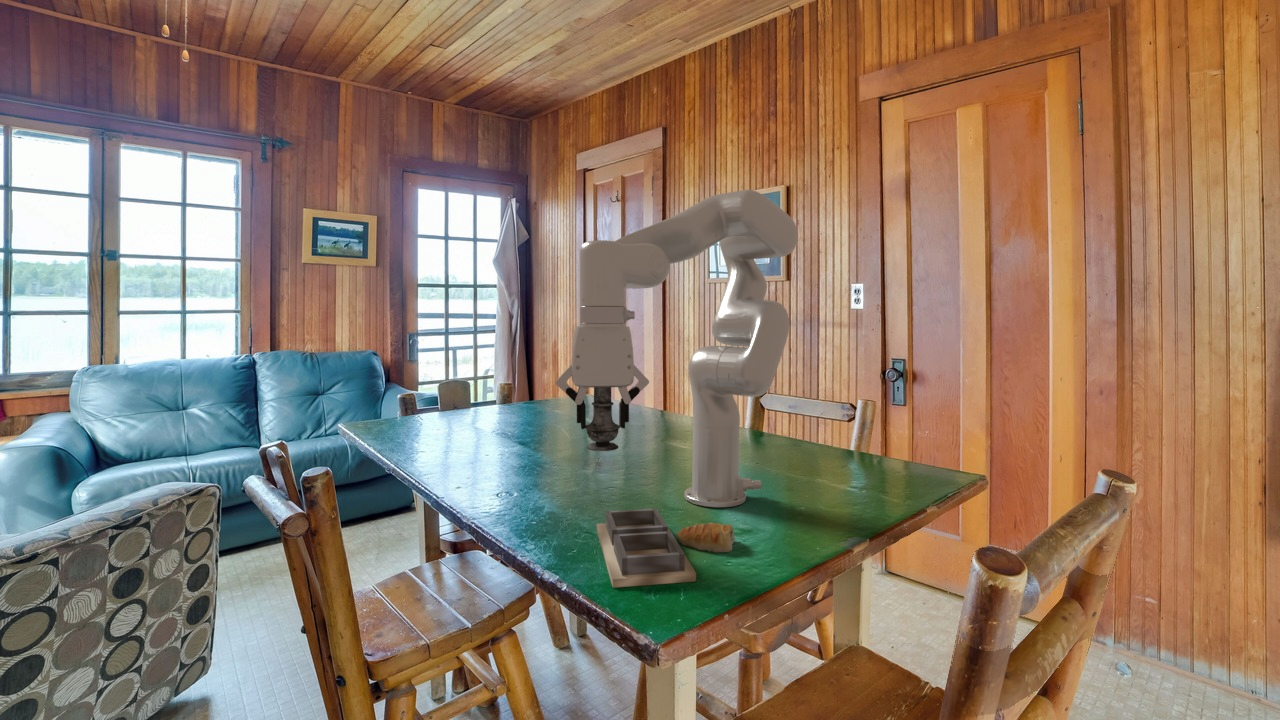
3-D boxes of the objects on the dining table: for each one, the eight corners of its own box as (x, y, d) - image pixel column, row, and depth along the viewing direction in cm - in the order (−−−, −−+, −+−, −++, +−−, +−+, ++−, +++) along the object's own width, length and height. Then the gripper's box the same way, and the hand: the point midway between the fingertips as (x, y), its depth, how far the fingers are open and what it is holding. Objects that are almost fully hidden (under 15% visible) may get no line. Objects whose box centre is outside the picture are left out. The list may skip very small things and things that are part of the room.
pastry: (674, 550, 96) (674, 527, 95) (680, 535, 102) (681, 514, 102) (732, 556, 93) (732, 532, 93) (735, 540, 100) (735, 518, 100)
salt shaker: (614, 452, 94) (614, 378, 93) (579, 450, 96) (579, 376, 95) (624, 444, 100) (624, 374, 99) (591, 442, 101) (591, 373, 100)
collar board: (663, 526, 106) (663, 506, 105) (696, 581, 84) (696, 556, 84) (596, 530, 103) (596, 509, 103) (612, 587, 82) (612, 561, 82)
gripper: (651, 318, 101) (650, 422, 102) (550, 317, 99) (550, 424, 100) (658, 318, 93) (657, 430, 95) (548, 318, 91) (549, 432, 93)
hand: (602, 426), depth 97 cm, fingers closed on salt shaker, 5 cm apart
